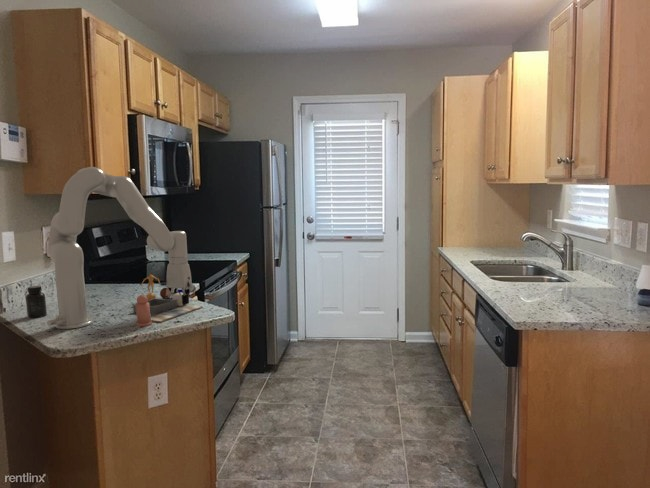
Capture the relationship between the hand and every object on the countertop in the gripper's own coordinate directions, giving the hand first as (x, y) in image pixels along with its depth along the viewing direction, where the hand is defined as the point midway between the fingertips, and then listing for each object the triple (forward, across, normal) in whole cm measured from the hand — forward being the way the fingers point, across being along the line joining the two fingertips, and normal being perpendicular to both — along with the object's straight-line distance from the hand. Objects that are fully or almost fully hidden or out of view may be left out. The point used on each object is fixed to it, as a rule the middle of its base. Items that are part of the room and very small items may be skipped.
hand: (180, 303), depth 220 cm
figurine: (+1, -18, +1) cm, 18 cm away
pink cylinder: (+1, +8, -29) cm, 30 cm away
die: (0, 0, 0) cm, 1 cm away
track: (+1, +8, -13) cm, 15 cm away
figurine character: (+1, -13, +12) cm, 18 cm away
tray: (+1, -5, -10) cm, 11 cm away
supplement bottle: (+2, -45, -34) cm, 56 cm away
